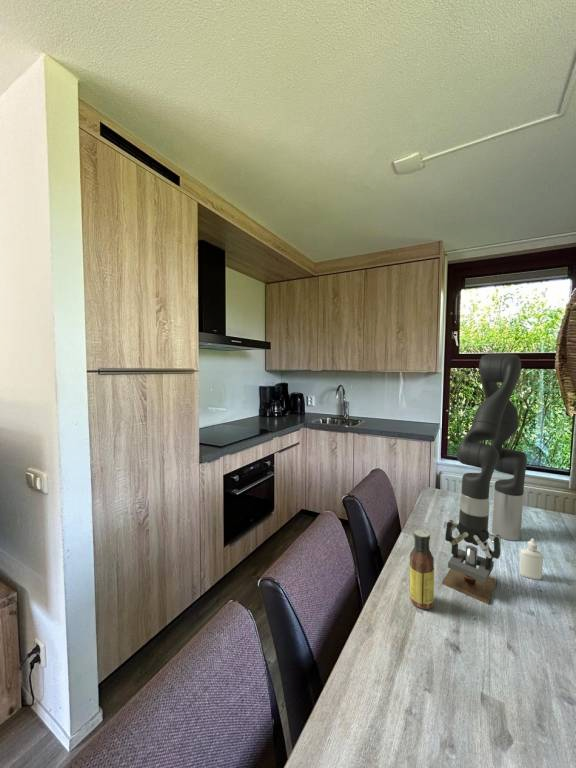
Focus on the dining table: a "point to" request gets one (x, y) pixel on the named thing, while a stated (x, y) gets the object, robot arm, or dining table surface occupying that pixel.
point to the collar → (468, 570)
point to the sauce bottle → (421, 571)
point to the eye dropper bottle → (531, 561)
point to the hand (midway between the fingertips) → (470, 562)
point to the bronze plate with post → (470, 580)
